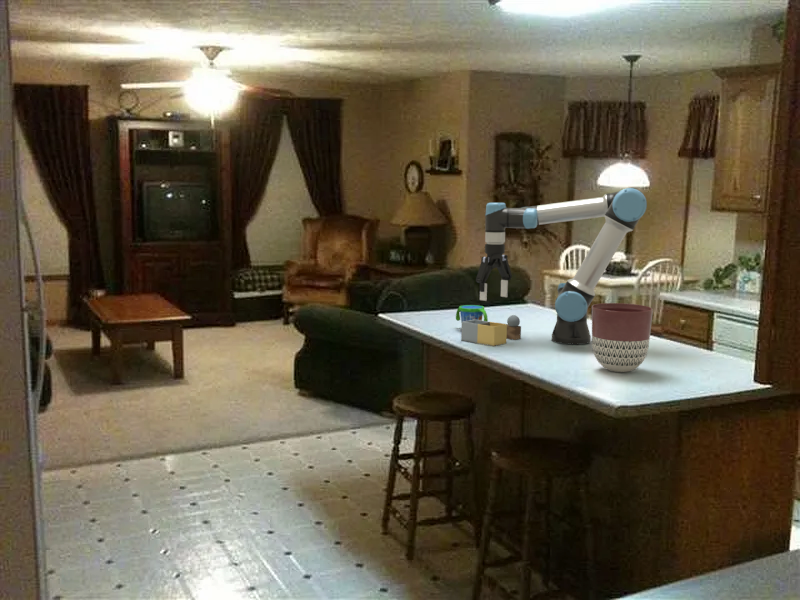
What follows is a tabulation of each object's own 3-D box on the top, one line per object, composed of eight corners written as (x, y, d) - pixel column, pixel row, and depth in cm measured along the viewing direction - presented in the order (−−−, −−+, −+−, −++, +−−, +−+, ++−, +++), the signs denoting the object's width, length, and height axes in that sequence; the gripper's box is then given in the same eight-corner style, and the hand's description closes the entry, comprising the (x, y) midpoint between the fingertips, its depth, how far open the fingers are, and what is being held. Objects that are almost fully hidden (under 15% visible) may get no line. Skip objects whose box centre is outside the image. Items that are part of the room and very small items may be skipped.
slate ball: (522, 327, 331) (522, 315, 330) (514, 329, 327) (515, 316, 326) (511, 326, 334) (512, 313, 333) (504, 327, 330) (504, 315, 330)
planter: (613, 379, 263) (616, 313, 260) (577, 367, 281) (579, 304, 278) (661, 374, 271) (665, 310, 268) (623, 362, 289) (626, 301, 286)
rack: (520, 338, 331) (521, 326, 330) (514, 339, 328) (515, 327, 327) (496, 334, 339) (496, 322, 338) (490, 335, 336) (490, 323, 335)
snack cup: (449, 329, 350) (449, 305, 349) (467, 326, 357) (467, 303, 356) (475, 334, 338) (475, 310, 337) (493, 332, 345) (494, 307, 344)
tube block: (506, 343, 321) (506, 324, 320) (493, 346, 315) (494, 326, 314) (474, 337, 331) (474, 319, 330) (461, 340, 325) (461, 321, 324)
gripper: (505, 241, 327) (504, 294, 330) (467, 244, 309) (466, 300, 312) (521, 242, 322) (520, 296, 325) (483, 245, 304) (482, 302, 307)
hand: (493, 298), depth 318 cm, fingers open, 13 cm apart
